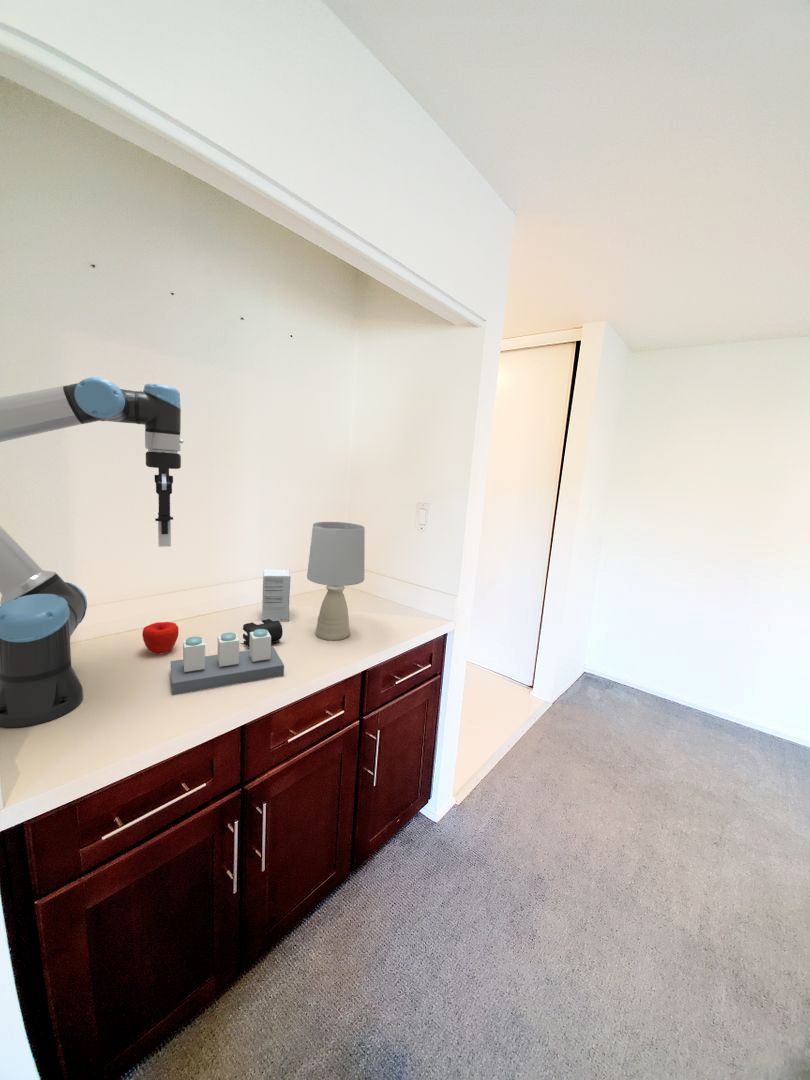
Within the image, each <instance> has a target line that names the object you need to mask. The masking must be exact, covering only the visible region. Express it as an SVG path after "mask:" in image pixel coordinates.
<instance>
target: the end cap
mask: <svg viewBox="0 0 810 1080" xmlns="http://www.w3.org/2000/svg"><path fill="white" fill-rule="evenodd" d="M261 622H262V623H259V624H256V623H254V622H252V621H251V622H247V623H245V624H243V625H242V630H243V631H244V632H245V633H246V634H245V633H243V634H242V639H243V645H245V646H246V647H247V648H249V647H250V632H253V631H254V630H257V629H266V630H268V632H269V634H270V635H271V643H274V642H278V641H279V640H281V639H282V637H283V633H284V632H283V627H282V626H283V625H282V623H281V621H272V620H270V619H267V620H262V619H261Z"/></svg>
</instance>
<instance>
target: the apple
mask: <svg viewBox="0 0 810 1080" xmlns="http://www.w3.org/2000/svg"><path fill="white" fill-rule="evenodd" d="M141 634H142V640H143V643H144V645H145V647H146V648H147V650H148V651H149V652H150V653H152V654H154V655H163V654H166V653H169V652H171V651H172V650H173V649H174V646H175V645H176V643H177V640H178V637H179V626H178V625H177V623H175V622H171V621H170V622H169V621H159V622H154V623H151V624H148V625H146V626H145V627H143V629H142V632H141Z"/></svg>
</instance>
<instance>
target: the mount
mask: <svg viewBox="0 0 810 1080" xmlns="http://www.w3.org/2000/svg"><path fill="white" fill-rule="evenodd" d="M217 656H218V654H213V655H211V654H210V655H205V669H201V670H195V671H188V672H184V666H183V659H177V660H170V680H171V694H172V696H174V695H180V694H181V695H182V694H186V693H193V692H198V691H203V690H204V691H205V690H209V689H216V688H218V687H219V688H220V687H227V686H232V685H238V684H243V683H249V682H254V681H261V680H266V679H272V678H277V677H278V678H279V677H284V676H285V675H284V673H285V664H284V663H283V661H282V659H281V657H280V656H279V654H278V652H277V650H276V649H275V647H274V646H271V658H270V659H267V660H260V661H254V662H253V661H252V659H251V657H250V655H249V650H248V649H247V650H241V651H240V650H239V664H234V665H227V666H221V667H220V666H219V662H218V659H217Z"/></svg>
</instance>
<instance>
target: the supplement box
mask: <svg viewBox="0 0 810 1080" xmlns="http://www.w3.org/2000/svg"><path fill="white" fill-rule="evenodd" d="M290 570H291V569H290V568H289V569H287V568H285V569H283V568H281V569H280V568H264V569H263V575H262V600H261V601H262V605H261V606H262V608H261V609H262V611H261V612H262V614H261V621H262V620H267V619H270V620H272V621H279V622H289V620H290V592H291V573H290Z"/></svg>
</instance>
